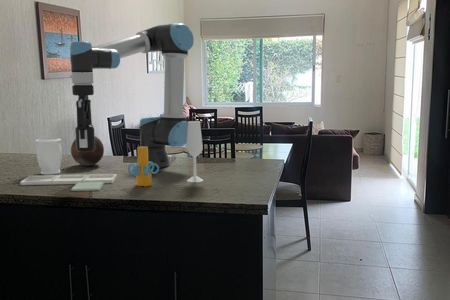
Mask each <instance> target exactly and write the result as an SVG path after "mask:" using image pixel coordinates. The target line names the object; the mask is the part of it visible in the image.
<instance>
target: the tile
mask: <svg viewBox="0 0 450 300" xmlns="http://www.w3.org/2000/svg"><path fill="white" fill-rule="evenodd" d="M104 185H105V183H104V182H90V183H77V184H74V186H72V188H70V189H71V192H82V191H85V192H87V191H88V192H89V191H92V192H93V191H100V189H102V187H103V186H104Z"/></svg>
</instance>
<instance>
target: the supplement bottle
mask: <svg viewBox="0 0 450 300" xmlns="http://www.w3.org/2000/svg"><path fill="white" fill-rule="evenodd" d="M91 120H92V118H91V119H86V130H87V145H88V147H87V148H80V144H79V130H76V128H77V126H76V127H75V131H74V132H75V133H74V134H75V139H76V149H77V151H78V152H89V151H94V150H95V128H94V125H93V126H91Z"/></svg>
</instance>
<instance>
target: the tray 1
mask: <svg viewBox="0 0 450 300" xmlns="http://www.w3.org/2000/svg"><path fill="white" fill-rule="evenodd" d="M58 176H59V175H58V174H52V175H43V174H40V175H29V176H27V177H25V178H24V179H22V180H21V181H19V183H20V184H19V185H20V186H44V185H46V186H47V185H48V186H51V185H52V181H53V180H54V179H55V178H56V177H58Z"/></svg>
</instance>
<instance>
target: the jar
mask: <svg viewBox="0 0 450 300" xmlns="http://www.w3.org/2000/svg"><path fill="white" fill-rule="evenodd" d="M61 142H62V139H61V138H58V137H48V138H47V137H45V138H39V139H35V143H36V158H37V161H38V166H39V168H40V175H58V174H60V173H61V169H60V168H61V165H62V158H63V149H62V148H63V147H62V145H61Z"/></svg>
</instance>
